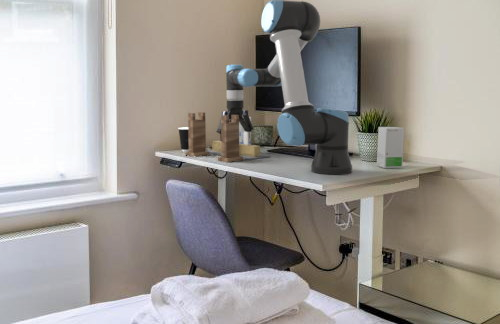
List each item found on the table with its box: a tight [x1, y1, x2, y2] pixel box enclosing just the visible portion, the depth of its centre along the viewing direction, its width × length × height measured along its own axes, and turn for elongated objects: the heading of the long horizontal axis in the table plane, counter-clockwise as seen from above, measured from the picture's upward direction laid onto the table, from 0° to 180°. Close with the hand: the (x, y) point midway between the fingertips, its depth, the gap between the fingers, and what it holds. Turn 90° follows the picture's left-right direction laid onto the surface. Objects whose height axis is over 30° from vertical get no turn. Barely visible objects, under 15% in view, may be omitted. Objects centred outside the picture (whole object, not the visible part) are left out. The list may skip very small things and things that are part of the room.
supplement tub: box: [239, 116, 252, 145], centre depth 279 cm, size 10×10×15 cm
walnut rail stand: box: [184, 111, 244, 163], centre depth 238 cm, size 28×9×19 cm, turn 45°
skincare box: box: [376, 126, 405, 169], centre depth 214 cm, size 8×7×16 cm
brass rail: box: [211, 140, 261, 157], centre depth 248 cm, size 28×4×4 cm, turn 45°
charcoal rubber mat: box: [207, 149, 271, 161], centre depth 248 cm, size 32×12×1 cm, turn 45°
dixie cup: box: [177, 126, 189, 153], centre depth 260 cm, size 8×8×11 cm
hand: (235, 147), depth 248 cm, fingers open, 13 cm apart
